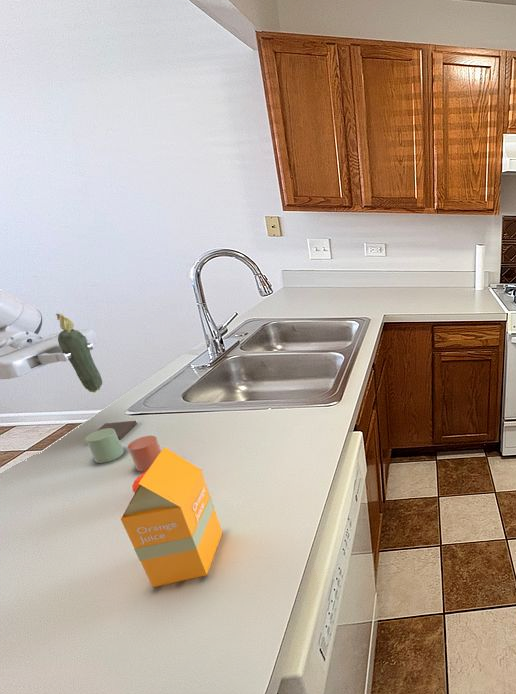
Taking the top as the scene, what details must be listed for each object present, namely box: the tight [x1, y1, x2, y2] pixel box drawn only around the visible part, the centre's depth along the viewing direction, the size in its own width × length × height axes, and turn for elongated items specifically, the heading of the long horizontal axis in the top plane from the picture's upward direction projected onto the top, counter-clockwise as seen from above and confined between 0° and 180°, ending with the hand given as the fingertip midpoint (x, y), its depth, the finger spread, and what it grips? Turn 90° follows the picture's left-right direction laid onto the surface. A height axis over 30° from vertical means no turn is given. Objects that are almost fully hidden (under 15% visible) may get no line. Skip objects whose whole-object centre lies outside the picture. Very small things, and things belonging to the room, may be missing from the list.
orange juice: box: [120, 446, 223, 588], centre depth 63 cm, size 8×9×20 cm
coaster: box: [96, 420, 138, 441], centre depth 100 cm, size 7×7×1 cm
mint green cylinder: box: [85, 428, 125, 464], centre depth 90 cm, size 5×5×6 cm
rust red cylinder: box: [127, 435, 162, 473], centre depth 88 cm, size 5×5×6 cm
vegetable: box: [55, 312, 103, 393], centre depth 91 cm, size 4×4×20 cm
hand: (80, 351), depth 90 cm, fingers closed on vegetable, 4 cm apart
